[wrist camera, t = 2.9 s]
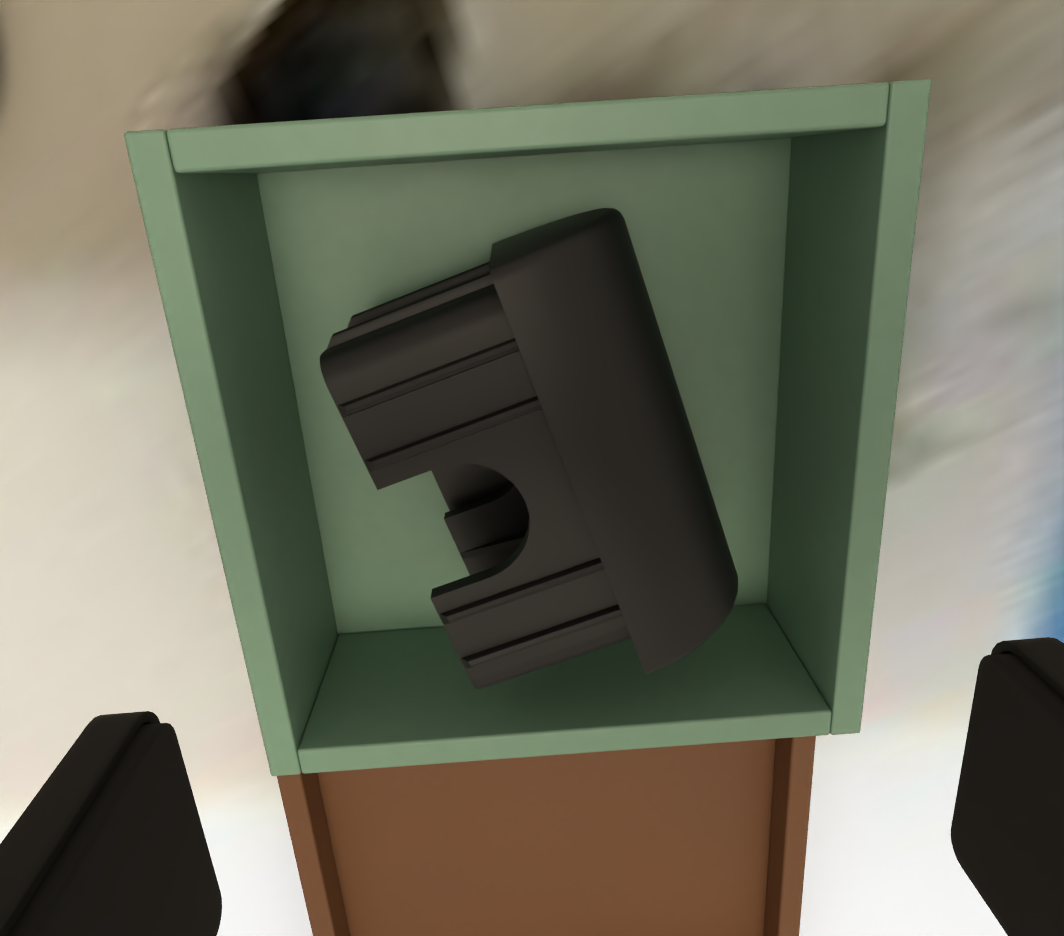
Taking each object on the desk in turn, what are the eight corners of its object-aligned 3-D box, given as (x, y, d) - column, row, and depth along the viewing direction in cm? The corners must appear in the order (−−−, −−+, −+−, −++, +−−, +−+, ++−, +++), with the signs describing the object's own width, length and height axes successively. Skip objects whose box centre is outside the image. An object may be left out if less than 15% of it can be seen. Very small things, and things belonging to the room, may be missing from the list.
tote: (819, 103, 20) (932, 78, 15) (786, 616, 26) (860, 734, 21) (223, 142, 20) (121, 132, 15) (319, 650, 26) (270, 777, 20)
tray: (797, 663, 27) (819, 700, 25) (776, 963, 32) (793, 1012, 30) (284, 700, 26) (267, 741, 25) (347, 996, 32) (337, 1047, 30)
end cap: (703, 516, 24) (774, 637, 18) (491, 590, 25) (487, 733, 18) (599, 198, 21) (641, 209, 14) (356, 294, 21) (295, 345, 15)
